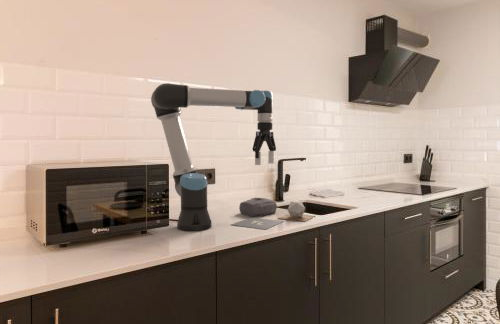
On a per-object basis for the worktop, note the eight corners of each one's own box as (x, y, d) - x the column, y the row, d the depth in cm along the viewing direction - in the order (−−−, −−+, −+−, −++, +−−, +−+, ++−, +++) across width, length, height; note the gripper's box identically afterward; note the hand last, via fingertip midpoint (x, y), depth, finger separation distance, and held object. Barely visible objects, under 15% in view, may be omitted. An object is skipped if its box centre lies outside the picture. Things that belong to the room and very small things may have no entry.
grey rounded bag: (254, 218, 185) (283, 213, 198) (254, 201, 184) (283, 197, 197) (235, 213, 197) (264, 208, 209) (235, 197, 196) (264, 194, 209)
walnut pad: (304, 222, 175) (304, 221, 175) (277, 218, 182) (277, 218, 182) (315, 216, 187) (315, 215, 187) (289, 213, 194) (289, 213, 194)
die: (300, 221, 179) (309, 204, 181) (284, 211, 180) (294, 195, 182) (298, 223, 186) (307, 207, 189) (283, 214, 188) (292, 198, 190)
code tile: (265, 229, 161) (265, 229, 161) (230, 225, 170) (230, 224, 170) (283, 221, 176) (283, 221, 176) (250, 217, 185) (250, 217, 185)
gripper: (258, 120, 176) (258, 165, 177) (282, 122, 197) (282, 163, 198) (245, 121, 180) (245, 165, 181) (270, 123, 201) (269, 162, 202)
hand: (264, 164), depth 190 cm, fingers open, 13 cm apart
